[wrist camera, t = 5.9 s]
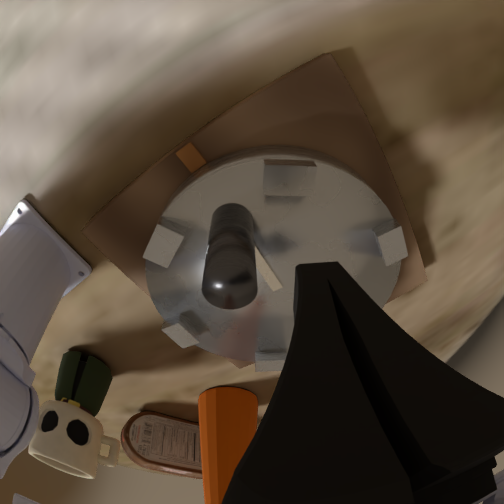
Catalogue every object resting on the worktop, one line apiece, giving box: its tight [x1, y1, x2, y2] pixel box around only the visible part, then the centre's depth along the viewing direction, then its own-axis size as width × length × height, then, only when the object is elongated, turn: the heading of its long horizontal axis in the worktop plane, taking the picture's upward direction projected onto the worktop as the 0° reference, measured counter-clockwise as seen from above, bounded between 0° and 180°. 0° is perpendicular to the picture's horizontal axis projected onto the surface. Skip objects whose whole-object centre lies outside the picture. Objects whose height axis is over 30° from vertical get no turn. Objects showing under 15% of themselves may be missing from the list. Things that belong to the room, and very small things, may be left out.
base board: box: [81, 54, 428, 368], centre depth 20 cm, size 18×18×2 cm
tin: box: [121, 411, 203, 479], centre depth 34 cm, size 15×3×8 cm, turn 62°
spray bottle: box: [198, 387, 258, 504], centre depth 22 cm, size 7×11×26 cm, turn 154°
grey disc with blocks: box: [143, 145, 408, 372], centre depth 17 cm, size 15×15×7 cm
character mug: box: [29, 351, 120, 479], centre depth 24 cm, size 11×7×13 cm, turn 69°
